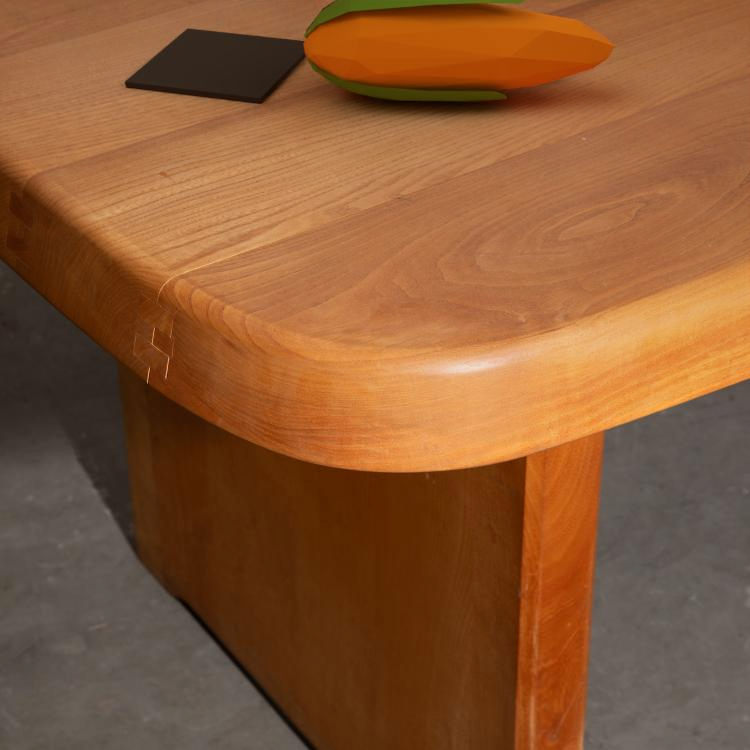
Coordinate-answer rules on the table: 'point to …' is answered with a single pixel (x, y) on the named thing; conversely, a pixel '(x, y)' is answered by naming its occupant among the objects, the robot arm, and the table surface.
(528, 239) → the table surface
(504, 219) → the table surface
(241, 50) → the coaster
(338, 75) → the corn
